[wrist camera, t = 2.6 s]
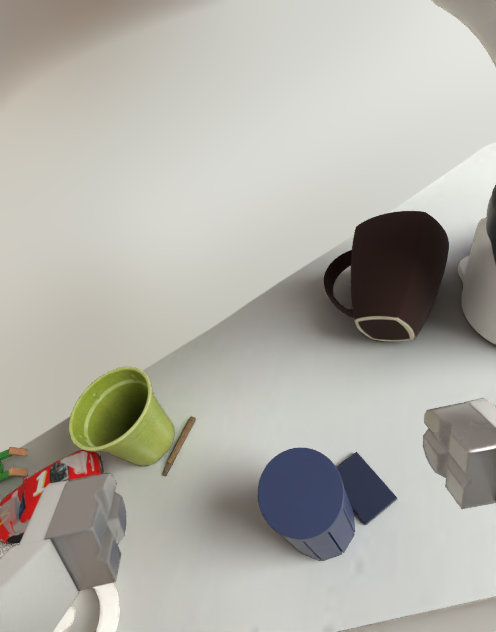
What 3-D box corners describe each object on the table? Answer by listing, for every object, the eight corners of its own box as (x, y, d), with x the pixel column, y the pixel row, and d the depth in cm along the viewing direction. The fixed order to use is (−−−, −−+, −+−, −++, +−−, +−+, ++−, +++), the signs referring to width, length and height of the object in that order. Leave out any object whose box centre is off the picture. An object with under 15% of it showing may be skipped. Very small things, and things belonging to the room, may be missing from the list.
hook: (112, 715, 27) (-3, 731, 25) (112, 664, 37) (30, 672, 35) (126, 583, 30) (26, 589, 28) (122, 569, 40) (48, 573, 38)
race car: (3, 554, 43) (-27, 547, 40) (5, 507, 46) (-22, 498, 43) (110, 490, 43) (89, 479, 41) (103, 449, 47) (83, 436, 44)
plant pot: (183, 476, 41) (140, 441, 36) (107, 487, 44) (55, 456, 38) (192, 399, 48) (157, 359, 42) (125, 412, 50) (83, 375, 44)
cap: (313, 579, 33) (289, 560, 26) (272, 511, 37) (242, 481, 30) (402, 505, 34) (400, 469, 27) (352, 448, 38) (340, 406, 32)
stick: (166, 476, 42) (164, 475, 42) (162, 475, 43) (159, 473, 42) (196, 419, 46) (194, 417, 45) (192, 418, 46) (190, 415, 46)
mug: (416, 304, 35) (432, 202, 40) (292, 311, 45) (316, 228, 49) (447, 350, 42) (458, 258, 46) (332, 348, 51) (351, 271, 56)
